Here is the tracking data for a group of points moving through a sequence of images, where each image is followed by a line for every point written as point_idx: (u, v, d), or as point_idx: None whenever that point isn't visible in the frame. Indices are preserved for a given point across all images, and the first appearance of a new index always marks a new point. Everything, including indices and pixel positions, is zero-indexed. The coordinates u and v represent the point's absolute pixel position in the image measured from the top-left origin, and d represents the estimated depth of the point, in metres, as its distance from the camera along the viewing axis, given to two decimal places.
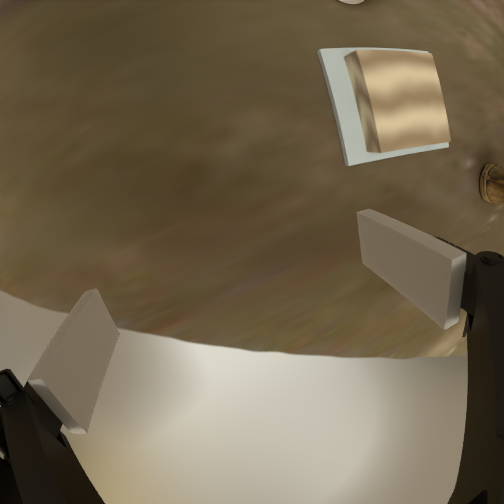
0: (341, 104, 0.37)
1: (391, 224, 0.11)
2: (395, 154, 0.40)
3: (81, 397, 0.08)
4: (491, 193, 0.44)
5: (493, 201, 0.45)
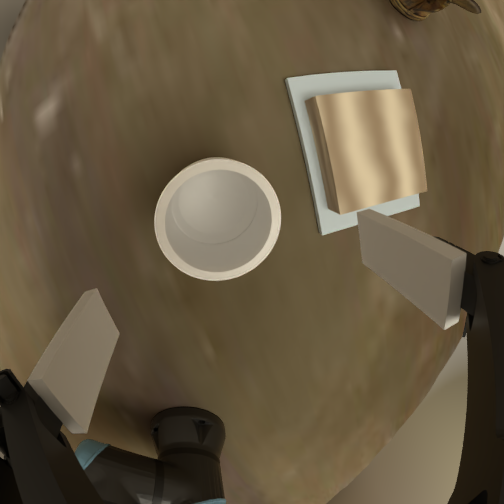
0: None
1: (391, 224, 0.11)
2: None
3: (81, 397, 0.08)
4: (428, 13, 0.29)
5: None
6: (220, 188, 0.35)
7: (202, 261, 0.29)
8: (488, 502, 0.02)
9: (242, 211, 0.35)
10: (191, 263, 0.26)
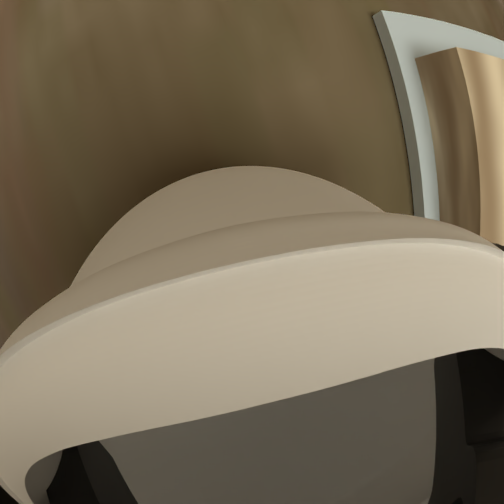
0: None
1: None
2: None
3: None
4: None
5: None
6: None
7: (214, 471, 0.09)
8: None
9: None
10: None
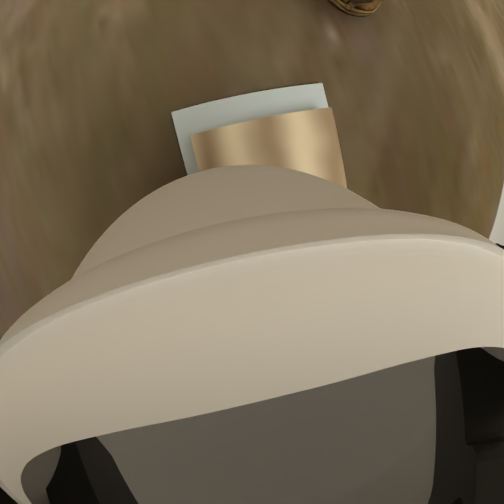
0: None
1: None
2: None
3: None
4: (374, 5, 0.25)
5: None
6: None
7: (213, 471, 0.09)
8: None
9: None
10: None
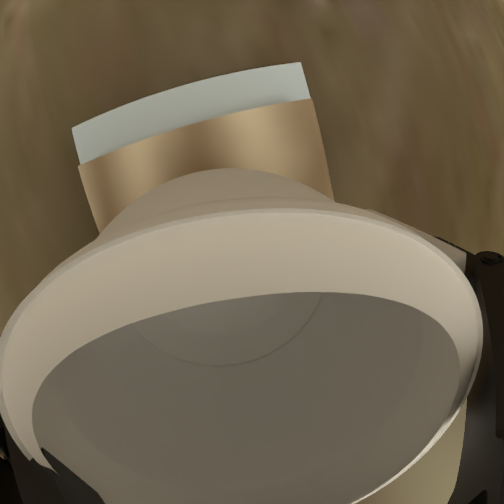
0: None
1: None
2: None
3: None
4: None
5: None
6: None
7: (199, 445, 0.10)
8: (488, 502, 0.02)
9: None
10: (171, 494, 0.07)
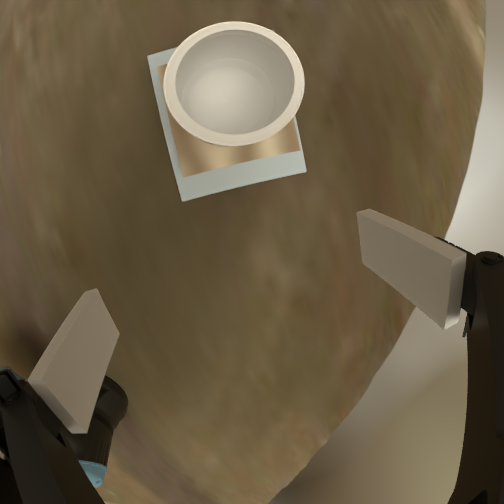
0: (243, 178, 0.40)
1: (391, 224, 0.11)
2: None
3: (81, 397, 0.08)
4: None
5: None
6: (234, 94, 0.30)
7: (211, 143, 0.24)
8: (488, 502, 0.02)
9: (257, 115, 0.30)
10: None
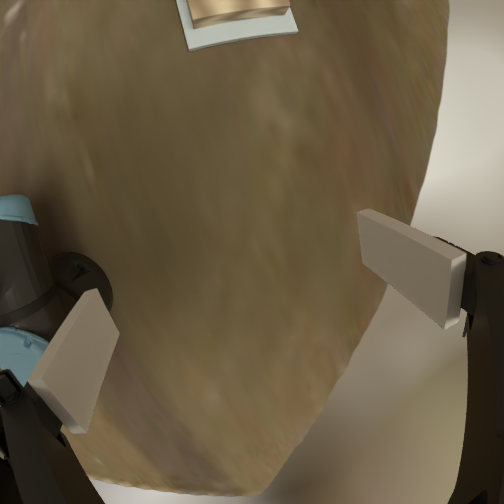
0: (243, 32, 0.37)
1: (391, 224, 0.11)
2: None
3: (81, 397, 0.08)
4: None
5: None
6: None
7: None
8: (488, 502, 0.02)
9: None
10: None
